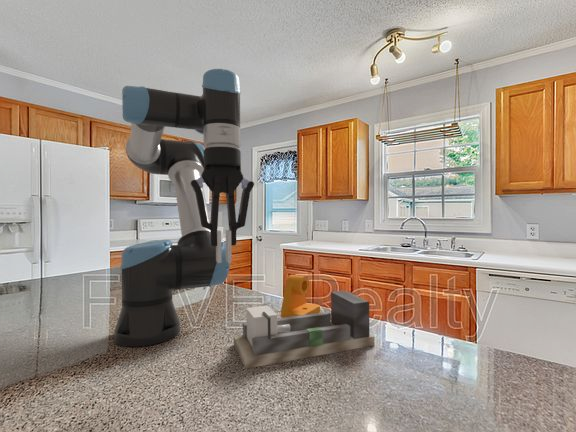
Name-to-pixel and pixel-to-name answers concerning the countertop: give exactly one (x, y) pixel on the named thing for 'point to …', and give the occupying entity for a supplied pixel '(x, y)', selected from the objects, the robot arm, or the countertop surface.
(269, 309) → the gauge carriage
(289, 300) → the bracket
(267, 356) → the base
